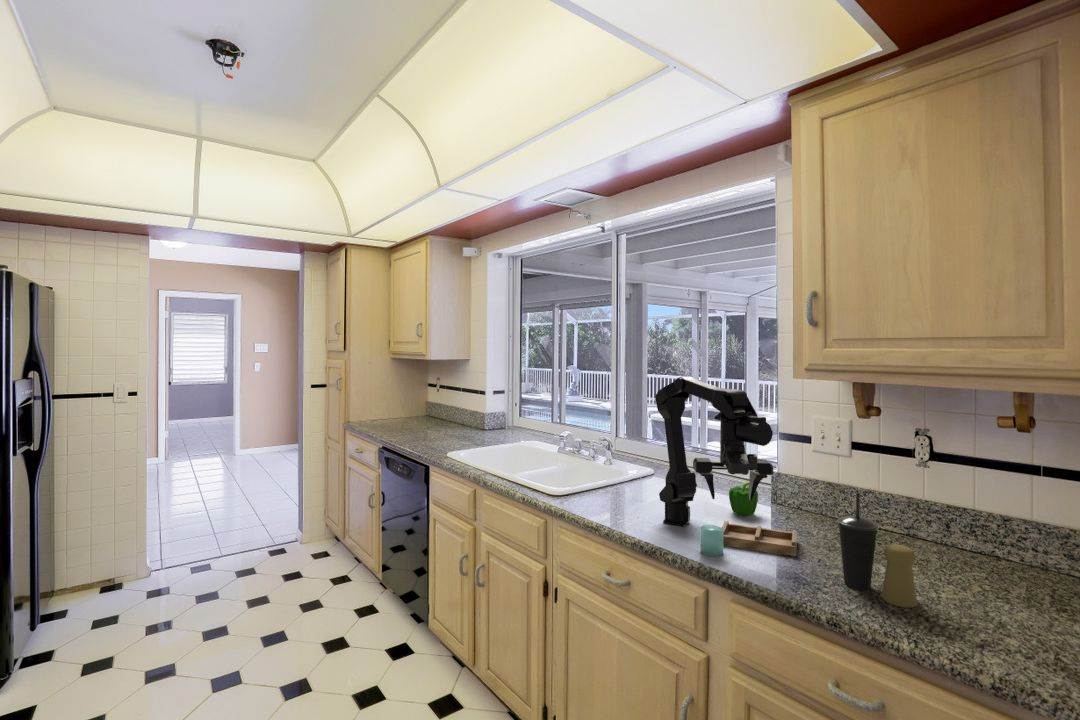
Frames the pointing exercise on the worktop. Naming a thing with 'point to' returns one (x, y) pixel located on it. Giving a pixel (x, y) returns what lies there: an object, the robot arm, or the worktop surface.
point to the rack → (760, 539)
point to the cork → (899, 576)
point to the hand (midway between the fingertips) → (731, 499)
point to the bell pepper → (742, 500)
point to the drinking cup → (857, 548)
